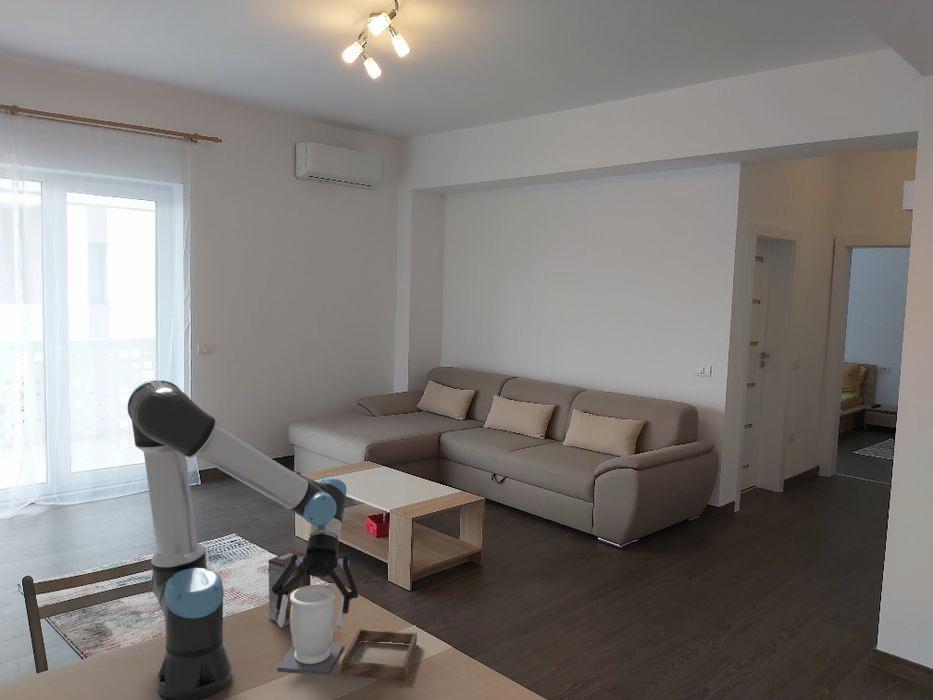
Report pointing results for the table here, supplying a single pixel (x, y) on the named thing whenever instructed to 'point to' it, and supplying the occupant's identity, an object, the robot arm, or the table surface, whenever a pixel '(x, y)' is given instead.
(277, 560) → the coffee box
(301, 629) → the jar
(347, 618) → the table surface
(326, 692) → the table surface
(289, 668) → the pad
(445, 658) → the table surface
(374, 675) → the collar
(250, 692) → the table surface
